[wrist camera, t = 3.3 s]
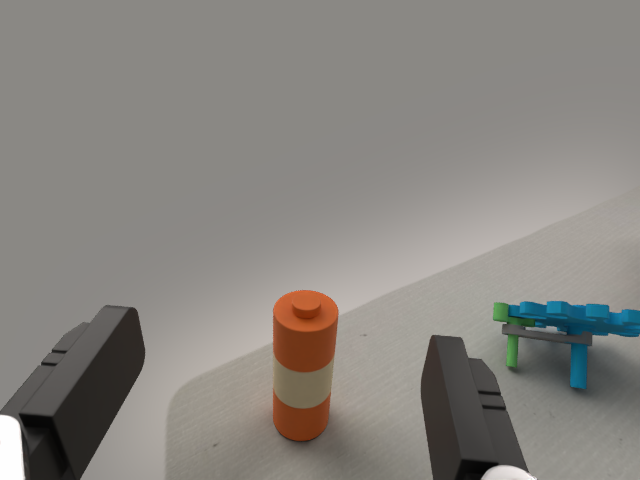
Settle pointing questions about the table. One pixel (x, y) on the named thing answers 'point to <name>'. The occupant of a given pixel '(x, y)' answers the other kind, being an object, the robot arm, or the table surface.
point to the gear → (564, 328)
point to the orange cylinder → (303, 363)
